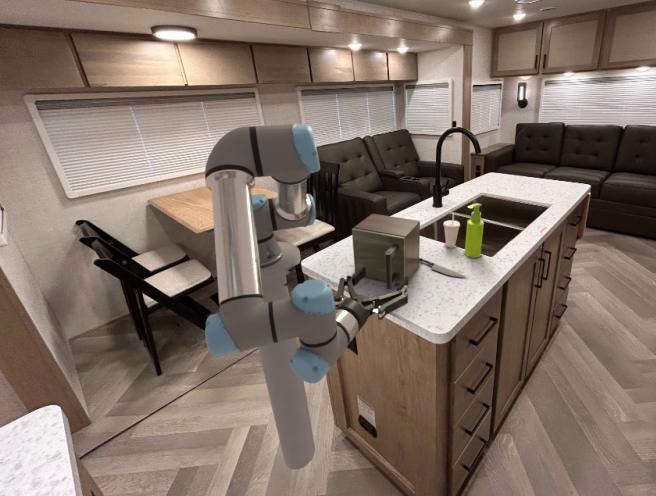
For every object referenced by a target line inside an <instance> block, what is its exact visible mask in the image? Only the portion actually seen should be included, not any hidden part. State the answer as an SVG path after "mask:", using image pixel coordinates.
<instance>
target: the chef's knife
mask: <svg viewBox="0 0 656 496" xmlns="http://www.w3.org/2000/svg"><path fill="white" fill-rule="evenodd" d="M419 262H421V263H425V264H428V265H429V266H432V267H431V270H433V271H436V272H439V273H441V274H444V275H446V276H447V275H448V276H451V277H457V278H467V276H465V275H464V274H462V273H459V272H457V271H455V270H452V269H449V268H446V267H444V266H442V265H439V264H436V263H434V262H432V261H429V260H426V259H424V258H422V257H419Z"/></svg>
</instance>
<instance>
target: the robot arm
mask: <svg viewBox="0 0 656 496" xmlns="http://www.w3.org/2000/svg"><path fill="white" fill-rule="evenodd" d="M320 164H321V163H320V158H319V153H318V148H317V143H316V138H315V133H314V129H313V128H312V126H311V125H309V124H305V123H302V124H301V123H290V124H287V123H286V124H273V125H272V124H271V125H254V126H253V125H252V126H249V125H245V126H239V127H237V128H234V129H231V130H230V131H228V132H226V133H225V134H224V135H223V136H222V137H221V138H220V139H218V141H217V142H216V144H214V146H213V148H212V150H211V151H210V153H209V155H208V157H207V159H206V164H205V168H204V179H205V186H206V187H207V189H208V190H209V191H211V203H212V217H213V220H212V221H213V230H214V231H213V233H214V234H213V235H214V249H215V260H216V261H215V266H216V278H217V294H218V304H219V310H218V311H217V312H215V313H213V314H210V315H208V317H207V319H206V321H205V328H204V333H205V334H204V335H205V343H206V347H207V349H208V352H209V353H210V354H211V355H212V356H214V357H216V358H219V357H225V356H229V355H233V354H242V353H243V352H246V351H249V350H253V349H254V350H255V349H258V347H261V346H265V345H269V344H272V343H276V342H281V341H285V340H289V339H293V338H296V339H298V341H299V346H298V349H296V351H295V353H294V354H293V355H292V357H291V360H290V365H291V368H292V370H293V372H294V373H295V374H296V376H297V377H299V378H300V379H301V380H303V381H304V383H308V384H317V383H319V382H321V381H322V380H323V378H324V377H325V376H326V375H327V373H328V372H330V371H331V370H332V368H333V367H334V365H336V363H337V362H338V360H339V358H340V357H341V356H342V355H343V353H344V352H345V350H346V349H347V348H348V346H349V345H350V344H351V342H352V341H353V340H354V338H355V337H356V336H357V334H359V332H360V331H361V329H362V328H364V325H366V323H367V321H368V319H369V318H370V316H373V315H374V316H376V317H377V319H378V320H379V321H382V320H383V319H384V318H385V317H386V316H387V315H389V314H391V313H392V312H394V311H396V310H398V309H400V308H401V307H404V306H405V305H407V304H409V294H408V286H409V280H408V276H406V277H405V278H404V279H403V281H402V282H401V283H400V285H399V284H398V286H397V287H396V290H395V291H393V292H390V293H385V294H382V295H379V296H377V295H374V296H367V295H363V294H360V293H359V294H357V292H356V290H355V287H357V285H358V284H359V283H360V282H361V281H362V280H363V278H364V277H365V275H366V267H364V266H363V267H362V268H361V269H360V270H359V271H358V272H357V273H356V274H355V273H353V274H352V275H347V276H346V278H344V277H340V278H339V281H338V286H337V291H336V294H335V295H334V292H333V291H334V290H333V287H332V286H331V285H330V284H329V283H328V282H327V281H326V280H323V279H317V278H316V279H315V278H314V279H308V280H304V281H303V282H302V283H298V284H297V285H296V286H294V288H293V290H292V292H291V297H290V296H289V298H286V299H281V300H277V301H272V302H267V303H264V298H263V297H264V294H263V286H262V278H261V269H260V268H264V267H268V266H270V265H273V264H275V263H276V262H278V261H279V260H280V259H281V258H282V255H283V254H282V249H281V247H280V246H279V244H278V242H279V241H278V240H277V239H276V237H275V233H274V232H277V231H284V230H289V229H296V228H306V227H309V226H312V225H313V224H315V222H316V204H315V200H314V197H313V195H312V194H310V193H307V191H308V189H307V188H308V186H307V185H308V184H307V182H308V179H309V178H310V177H311V176H312V174H314V173H318V172H320V170H321V165H320ZM266 177H271V178H272V179H273V180H274V181H275V186H276V192H277V196H276V197H269V196H267V194H264V193H256V194H252V190H253V188H254V187H255V185H256V179H255V178H266ZM268 197H269V198H268ZM345 287H347V290H348V295H349V297H348V298H345V299H344V294H345Z"/></svg>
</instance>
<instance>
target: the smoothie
mask: <svg viewBox="0 0 656 496" xmlns="http://www.w3.org/2000/svg"><path fill="white" fill-rule="evenodd" d="M443 227H444V229H443V230H444V239H445V247H447V248H450V249H451V248H455V247H456V244H457V239H458V234H459V230H460V229H459V228H460V227H461V223H460V222H459V221H458V220H455V213H454V212H452V218H451V220H450V219H448V220H445V221H443Z"/></svg>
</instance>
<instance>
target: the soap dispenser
mask: <svg viewBox="0 0 656 496" xmlns="http://www.w3.org/2000/svg"><path fill="white" fill-rule="evenodd" d="M480 207H482V204H481V203H478V202H476V203H472V204H470V205H468V206H467V208H468V209H469V210H473V211H472V212H471V215H470V219H467V220H466V232H465V244H464V255H465V256H466V257H469V258H474V259H475V258H479V257H481V254H482V244H483V234H484V227H485V225H484V224H485V222H484V220H482V213H481V211H480Z"/></svg>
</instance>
